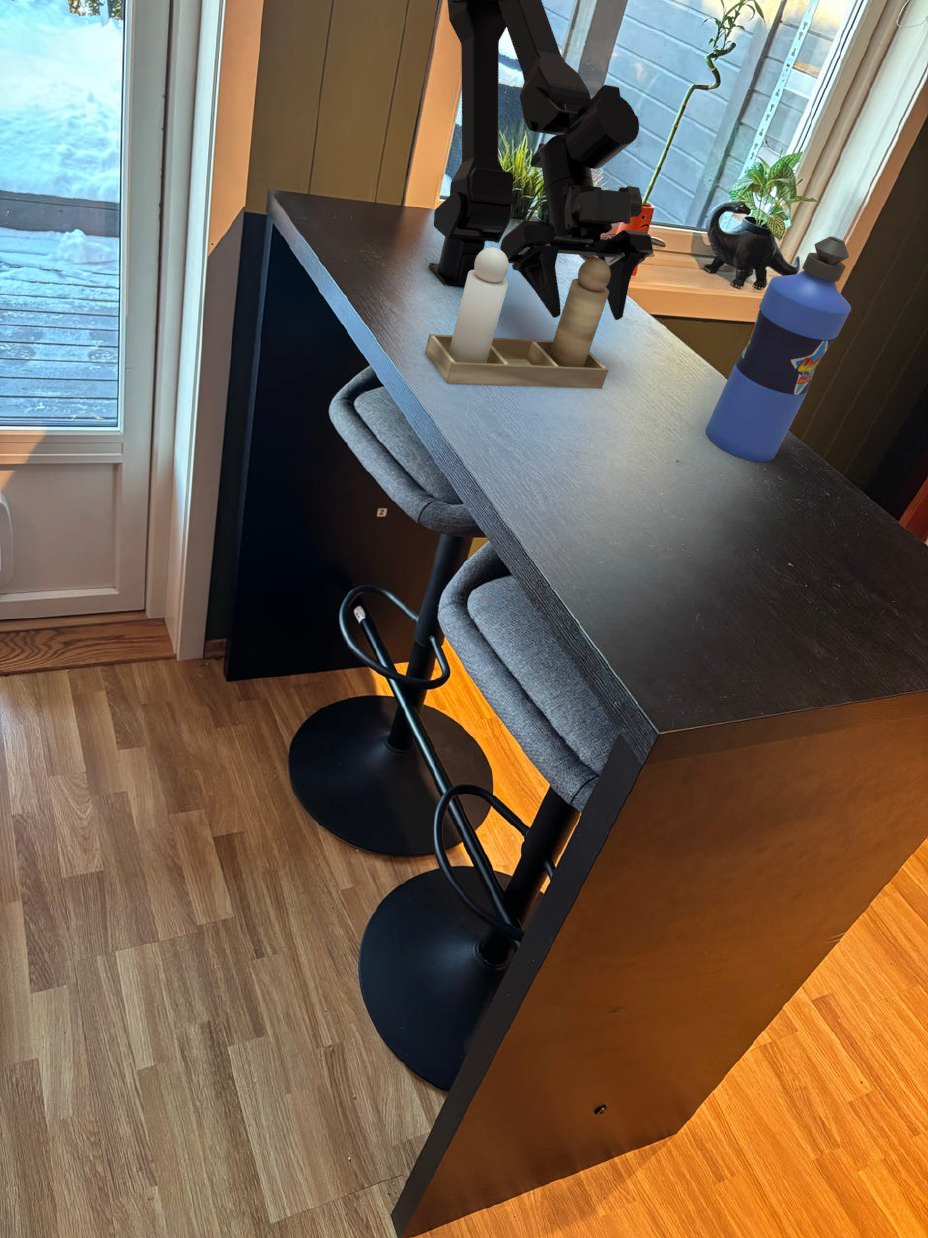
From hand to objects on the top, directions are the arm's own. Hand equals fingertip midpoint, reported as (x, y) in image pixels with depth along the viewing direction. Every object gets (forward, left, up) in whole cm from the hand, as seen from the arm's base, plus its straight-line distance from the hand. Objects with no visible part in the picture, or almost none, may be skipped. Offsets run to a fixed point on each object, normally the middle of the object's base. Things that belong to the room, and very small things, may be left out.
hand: (588, 317), depth 113 cm
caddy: (-1, -7, -9) cm, 11 cm away
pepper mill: (-1, 0, -8) cm, 8 cm away
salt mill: (-1, -14, -8) cm, 16 cm away
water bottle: (+14, +18, -9) cm, 24 cm away
